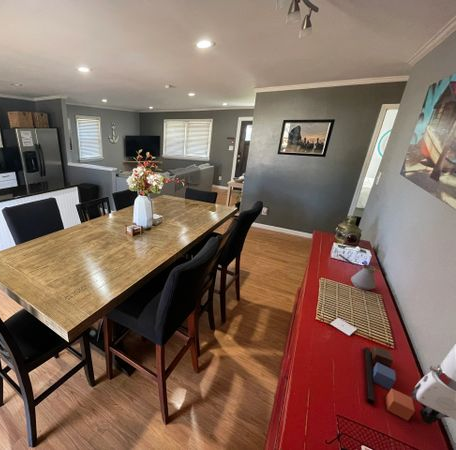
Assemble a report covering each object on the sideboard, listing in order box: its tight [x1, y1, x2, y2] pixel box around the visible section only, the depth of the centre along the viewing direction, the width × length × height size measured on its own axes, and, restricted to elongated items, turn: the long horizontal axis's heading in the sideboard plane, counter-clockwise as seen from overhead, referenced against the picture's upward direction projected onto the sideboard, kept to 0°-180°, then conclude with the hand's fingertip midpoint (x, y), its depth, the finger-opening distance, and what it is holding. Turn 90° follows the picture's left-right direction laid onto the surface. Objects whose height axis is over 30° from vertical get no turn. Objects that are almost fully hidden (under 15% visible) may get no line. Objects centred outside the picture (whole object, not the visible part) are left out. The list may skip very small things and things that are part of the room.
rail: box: [363, 346, 375, 406], centre depth 89 cm, size 2×26×2 cm, turn 143°
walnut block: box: [370, 345, 394, 369], centre depth 94 cm, size 5×5×5 cm
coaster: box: [329, 317, 358, 336], centre depth 111 cm, size 8×8×1 cm
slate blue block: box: [372, 362, 397, 391], centre depth 87 cm, size 5×5×5 cm
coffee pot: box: [337, 253, 378, 291], centre depth 142 cm, size 21×12×15 cm, turn 42°
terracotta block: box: [385, 388, 416, 422], centre depth 78 cm, size 5×5×5 cm
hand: (425, 419), depth 75 cm, fingers closed
